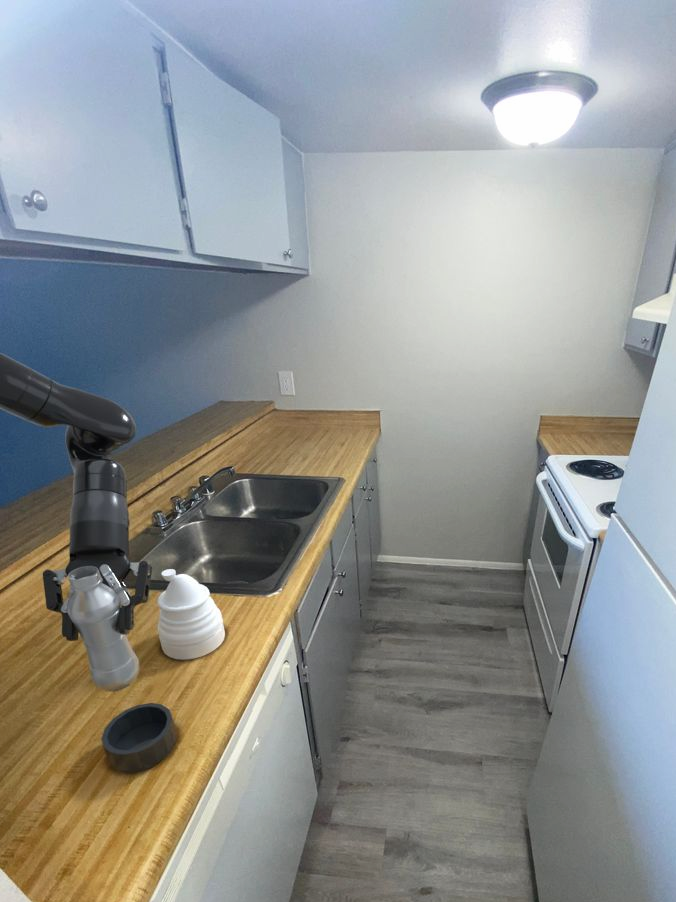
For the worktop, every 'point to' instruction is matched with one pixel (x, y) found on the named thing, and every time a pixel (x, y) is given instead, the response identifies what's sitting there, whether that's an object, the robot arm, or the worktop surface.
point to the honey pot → (188, 618)
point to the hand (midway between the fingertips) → (98, 636)
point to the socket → (139, 737)
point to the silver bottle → (101, 630)
